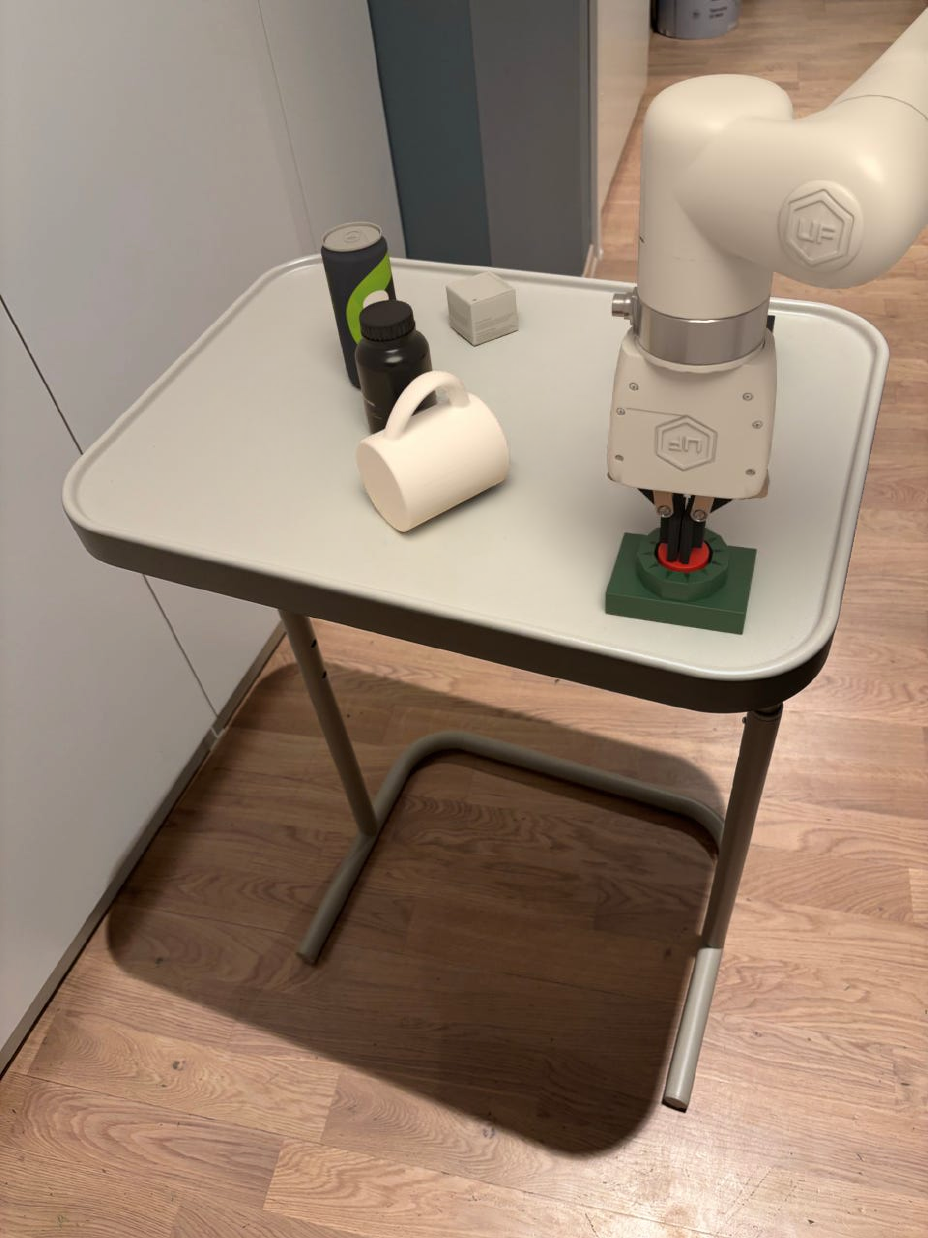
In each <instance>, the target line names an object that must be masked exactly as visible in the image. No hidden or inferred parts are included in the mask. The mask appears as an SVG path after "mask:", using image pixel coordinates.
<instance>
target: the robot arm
mask: <svg viewBox="0 0 928 1238" xmlns="http://www.w3.org/2000/svg"><path fill="white" fill-rule="evenodd" d="M794 113H795V111H794V106H793V102H792V101H791V98H790V96H789V95H788V93H787V91H785V90H784V89H783V88H782V87H781V86H780V85H778V84H777V83H775V82H773V81H771V80H768V79H765V78H762V77H757V76H754V75H747V74H739V73H718V74H717V73H716V74H707V75H701V76H695V77H691V78H688V79H684V80H682V81H678V82H676V83H673V84H672V85H669V86H667V87H665V88H664V89H663V90H662V91H660V92H659V93H658V94H656V96H655V97H654V98H653V99H652V100H651V102H650V103H649V105H648V106H647V109H646V112H645V115H644V118H643V122H642V130H641V144H640V175H639V177H640V178H639V207H638V208H639V209H638V239H637V240H638V241H637V272H636V274H637V275H636V286H634V288H633V290H632V291H626V293H618V292H615V293H614V294H613V296H612V300H611V316H612V317H617V318H623V320H629V325H630V326H631V327H629V329H628V330H627V332H626V334H625V336H624V337H623V339H622V341H621V343H620V344H621V345H620V348H619V352H618V356H617V361H616V366H615V372H614V378H613V383H612V384H613V385H612V392H611V401H610V402H611V403H610V412H609V424H608V426H609V427H608V437H607V453H606V454H607V455H606V456H607V457H606V460H607V461H606V464H607V465H606V467H607V474H606V476H607V478H608V479H609V481H612V482H614V483H617V484H619V485H622V486H626V487H629V488H633V489H637V491H639V492H640V493H641V494H642V495H643V496H644V497H645V498H646V499H647V500H648V501H649V502H650V503H651V504H652V505H653V506H654V507H655V513H656V515H657V516H659V517H660V524H659V527H660V538H659V543H664V544H668V545H667V561H671V562H674V560H677V558H678V554H679V550H680V554H679V561H682V562H681V563H685V564H689V561H690V557H691V553H692V549H693V547H694V548H702V545H703V540H704V534H705V527H706V523H707V520H708V519H709V516H710V515H711V514H712V513H714V512H716V511H717V510H719V509H721V508H723V507H724V506H726V505H727V504H729V503H731V502H732V501H733V500H738V501H742V500H743V501H744V500H757V499H759V500H760V499H764V498H766V497H767V496H768V494H769V488H770V482H771V479H770V475H769V474H770V473H769V464H770V463H769V462H770V459H771V451H772V445H773V444H772V443H773V437H774V426H775V419H776V418H775V417H776V409H777V408H776V407H777V390H778V360H777V347H776V339H775V336H774V333H773V334H772V332H771V331H770V330H769V329H768V328H766V323H767V316H768V315H769V309H770V301H771V293H772V287H773V281H774V280H773V279H774V273H777V274H779V275H780V276H781V275H782V276H783V277H786V278H788V279H790V280H793V281H795V282H798V283H801V284H805V285H807V286H811V287H816V288H821V289H825V290H847V289H852V288H856V287H861V286H863V285H866V284H869V283H870V282H873V281H875V280H877V279H878V278H880V277H882V276H883V275H885V274H886V273H887V272H889V271H890V270H891V269H892V268H893V267H894V266H895V265H896V264H897V263H898V262H899V261H900V260H901V259H902V258H903V257H904V256H905V255H906V253H907V252H908V251H909V249H911V247H912V246H913V245H914V243H915V242H916V241H917V239H918V238H919V237H920V236H921V234H922V232H923V231H924V230H925V228H926V227H927V226H928V6H927V7H926V8H925V9H924V10H923V11H922V12H921V13H920V14H919V15H918V16H917V18H916V19H915V20H914V21H913V22H912V23H911V24H909V26H908V27H907V28H906V29H905V30H904V32H903V33H902V34H901V35H900V36H899V37H898V38H897V39H895V41H893V43H892V44H891V45H890V46H889V47H888V48H887V49H886V50H885V51H884V52H883V53H882V54H881V55H880V56H879V58H878V59H877V60H876V61H875V62H874V63H873V64H872V65H870V67H869V68H868V69H867V70H866V71H865V72H864V73H863V74H862V75H861V76H859V78H858V79H857V80H855V81H854V82H853V84H851V85H850V86H849V87H847V88H846V89H845V90H844V91H842V93H840V95H839V96H838V97H837V98H835V99H834V100H832V102H831V103H830V104H829V105H827V107H826V108H825V109H824V108H823V109H821V110H818V111H816V112H814V113H812V114H809V115H806V116H803V117H801V118H797V119H795V114H794ZM685 495H689V496H690V497H688V498H687V497H686V496H685Z"/></svg>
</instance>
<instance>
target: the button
mask: <svg viewBox="0 0 928 1238" xmlns="http://www.w3.org/2000/svg"><path fill="white" fill-rule="evenodd" d="M667 545H668V544H664V543H661V544H660V546H659V549H658V563H659V564H660V565H662V566H664V567H665V568H667V569H669V570H671V571H677V572H685V573H688V572H692V571H697V570H701V569H703V568H704V567H705V566H707V565H708V557H709V549H708V547H707V545H706V544H705V543H704V542H703V545H702V548H694V547H693V549H692V553H691V557H690V561H689V564H685V563H681V562H682V561H679V554H680V550H679V554H678V558H677V560H674V562H671V561H667Z"/></svg>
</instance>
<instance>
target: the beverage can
mask: <svg viewBox="0 0 928 1238" xmlns="http://www.w3.org/2000/svg"><path fill="white" fill-rule="evenodd" d="M320 243H321V246H320V247H321V248H320V255H321V256H320V257H321V260H322V265H323V270H324V274H325V279H326V283H327V288H328V293H329V296H330V301H331V306H332V309H333V310H332V311H333V314H334V318H335V323H336V328H337V332H338V337H339V341H340V347H341V351H342V355H343V359H344V364H345V369H346V373H347V378H348V380H349V381H350V382H351V383H352V384H354V385H355V386H356V387H358V388H359V389H361V385H360V380H359V375H358V370H357V366H356V360H355V350H356V347H357V345H358V343H359V342H360V340H361V339H362V337H361V332H360V329H361V328H360V323H359V314H360V312H361V311H362V310H363V309H364V308H365V307H367V306H368V305H370V304H372V303H376V302H378V301H383V300H397V295H396V289H395V283H394V277H393V276H394V275H393V271H392V265H391V259H390V253H389V248H388V242H387V239H386V238H385V237H384V236H383V230H382V228H381V226H380V225H378V224H376V223H373V222H370V221H351V222H345V223H341V224H338V225H336V226H334V227H331V228H330V229H328V230H327V231H325V232H324V233H323V234H322V236H321V237H320Z"/></svg>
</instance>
